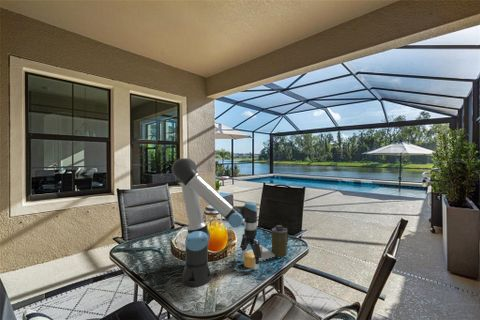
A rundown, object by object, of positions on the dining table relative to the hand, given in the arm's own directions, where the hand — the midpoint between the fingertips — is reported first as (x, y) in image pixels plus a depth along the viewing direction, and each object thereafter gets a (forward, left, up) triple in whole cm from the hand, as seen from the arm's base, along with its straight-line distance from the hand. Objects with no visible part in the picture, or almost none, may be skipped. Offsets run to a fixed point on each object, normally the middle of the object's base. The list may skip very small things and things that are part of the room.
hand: (250, 264), depth 133 cm
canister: (+25, +1, -1) cm, 25 cm away
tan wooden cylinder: (0, 0, 0) cm, 0 cm away
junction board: (+13, +7, 0) cm, 15 cm away
